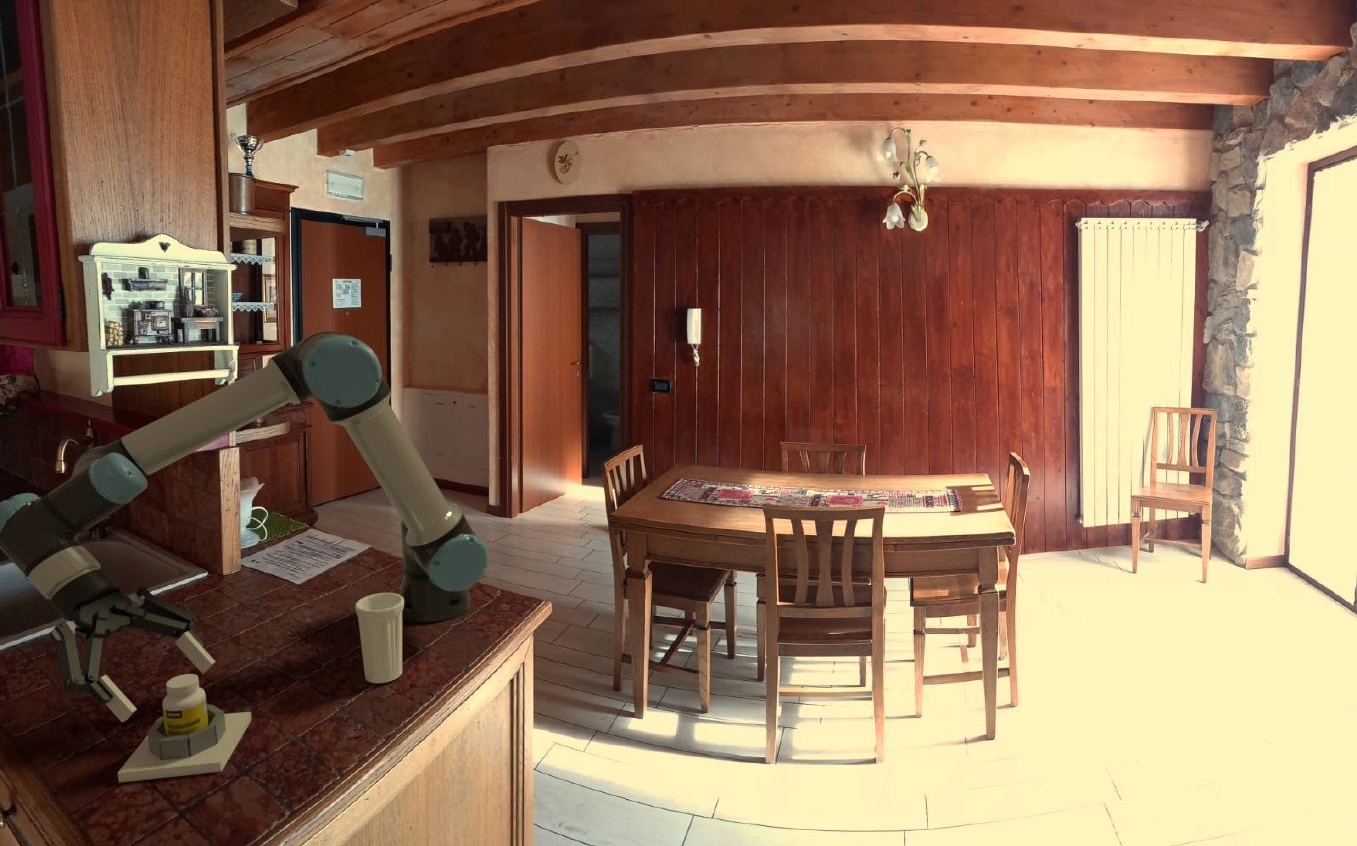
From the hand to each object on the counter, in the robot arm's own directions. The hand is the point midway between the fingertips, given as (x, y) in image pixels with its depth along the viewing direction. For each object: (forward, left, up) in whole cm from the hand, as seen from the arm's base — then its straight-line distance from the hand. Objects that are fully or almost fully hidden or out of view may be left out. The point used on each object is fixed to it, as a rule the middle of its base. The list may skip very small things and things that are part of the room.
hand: (171, 690), depth 111 cm
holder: (-2, 0, -10) cm, 10 cm away
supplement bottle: (-2, 0, -8) cm, 8 cm away
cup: (-27, -17, -10) cm, 33 cm away
